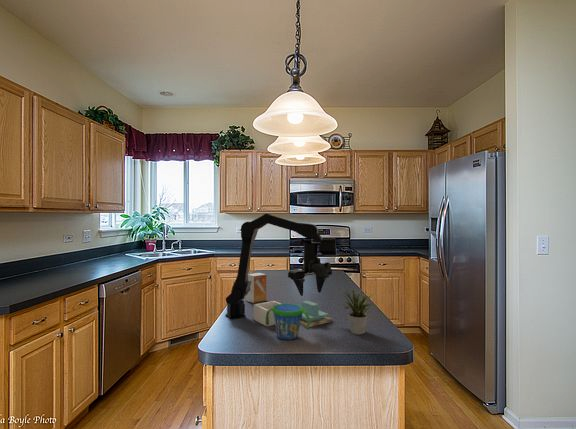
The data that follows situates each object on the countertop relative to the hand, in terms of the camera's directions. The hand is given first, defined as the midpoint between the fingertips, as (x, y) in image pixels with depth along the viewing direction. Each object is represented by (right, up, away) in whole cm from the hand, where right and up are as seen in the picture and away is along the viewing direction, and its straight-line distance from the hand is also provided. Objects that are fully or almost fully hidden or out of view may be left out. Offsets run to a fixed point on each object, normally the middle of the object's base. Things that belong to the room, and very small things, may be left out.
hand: (310, 294), depth 133 cm
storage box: (-16, -11, 0) cm, 19 cm away
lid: (0, -10, 0) cm, 10 cm away
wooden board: (0, -11, 0) cm, 11 cm away
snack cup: (-9, -11, -18) cm, 23 cm away
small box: (-25, -11, +30) cm, 41 cm away
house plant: (+15, -11, -12) cm, 22 cm away
